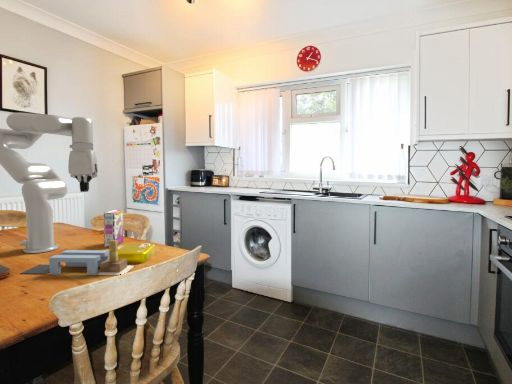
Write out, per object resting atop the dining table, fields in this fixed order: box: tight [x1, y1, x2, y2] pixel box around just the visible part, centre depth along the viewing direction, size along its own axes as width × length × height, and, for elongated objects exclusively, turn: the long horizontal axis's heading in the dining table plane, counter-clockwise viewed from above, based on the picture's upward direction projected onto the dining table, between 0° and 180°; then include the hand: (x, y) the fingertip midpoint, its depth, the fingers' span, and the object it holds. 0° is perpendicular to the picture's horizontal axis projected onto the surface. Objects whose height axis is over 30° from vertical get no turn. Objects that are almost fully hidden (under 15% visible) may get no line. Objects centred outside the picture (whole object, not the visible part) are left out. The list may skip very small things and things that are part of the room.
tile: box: [97, 264, 135, 276], centre depth 104 cm, size 9×9×1 cm
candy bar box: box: [103, 209, 124, 248], centre depth 139 cm, size 11×5×16 cm, turn 5°
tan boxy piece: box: [99, 240, 128, 273], centre depth 104 cm, size 7×6×11 cm
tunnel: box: [48, 249, 109, 276], centre depth 104 cm, size 16×9×6 cm, turn 90°
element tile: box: [118, 243, 156, 264], centre depth 120 cm, size 15×15×5 cm
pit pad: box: [19, 263, 64, 275], centre depth 104 cm, size 9×9×1 cm
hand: (84, 191), depth 121 cm, fingers closed
